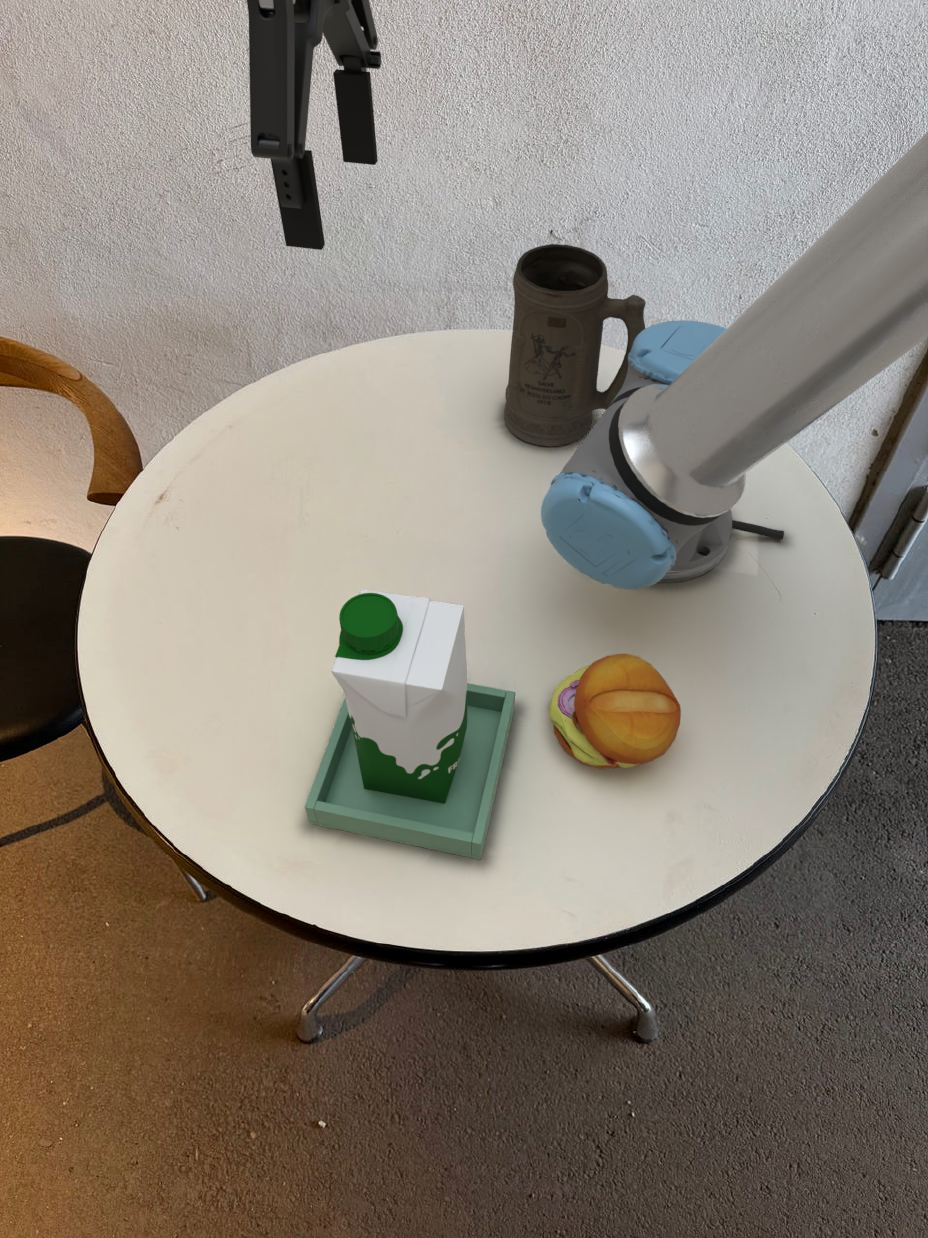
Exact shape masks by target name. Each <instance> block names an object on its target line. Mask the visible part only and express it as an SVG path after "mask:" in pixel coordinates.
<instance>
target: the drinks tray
mask: <svg viewBox="0 0 928 1238" xmlns="http://www.w3.org/2000/svg"><path fill="white" fill-rule="evenodd" d="M515 702H516V691H512V690H506V689H501V688H496V687H491V686H485V685H480V684H473V683H469V682H467V729H466V734H465V738H464V742H463V746H462V751H461V755H460V759H459V762H458V765H457V768H456V771H455V775H454V778H453V781H452V784H451V787H450V790H449V793H448V796H447V799H446V802H445V804H444V803H438V802H433V801H428V800H422V799H417V798H411V797H406V796H400V795H395V794H389V793H384V792H379V791H373V790H368V789H364V786H363V781H362V776H361V771H360V766H359V760H358V755H357V750H356V745H355V740H354V735H353V731H352V726H351V722H350V717H349V713H348V708H347V704H346V699H345V698H344V699H343V702H342V705H341V707H340V710H339V713H338V715H337V718H336V721H335V723H334V726H333V729H332V732H331V735H330V737H329V740H328V744H327V745H326V749H325V751H324V754H323V757H322V758H321V762H320V764H319V767H318V769H317V773H316V775H315V778H314V781H313V783H312V786H311V789H310V792H309V794H308V798H307V799H306V803H305V805H304V809H305V812H306V815H307V818H308V821H309V824H310V825H314V826H315V825H316V826H320V827H325V828H330V829H335V830H338V831H344V832H348V833H352V834H357V835H362V836H366V837H370V838H371V837H372V838H376V839H382V840H386V841H391V842H396V843H400V844H404V845H409V846H414V847H418V848H423V849H429V850H433V851H438V852H442V853H448V854H450V855H451V854H452V855H457V856H462V857H466V858H470V859H476V860H482V858H483V853H484V848H485V844H486V839H487V835H488V830H489V826H490V822H491V817H492V813H493V807H494V803H495V800H496V795H497V790H498V785H499V780H500V775H501V771H502V767H503V763H504V758H505V754H506V749H507V745H508V740H509V736H510V732H511V726H512V722H513V718H514V712H515V705H516V703H515Z"/></svg>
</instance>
